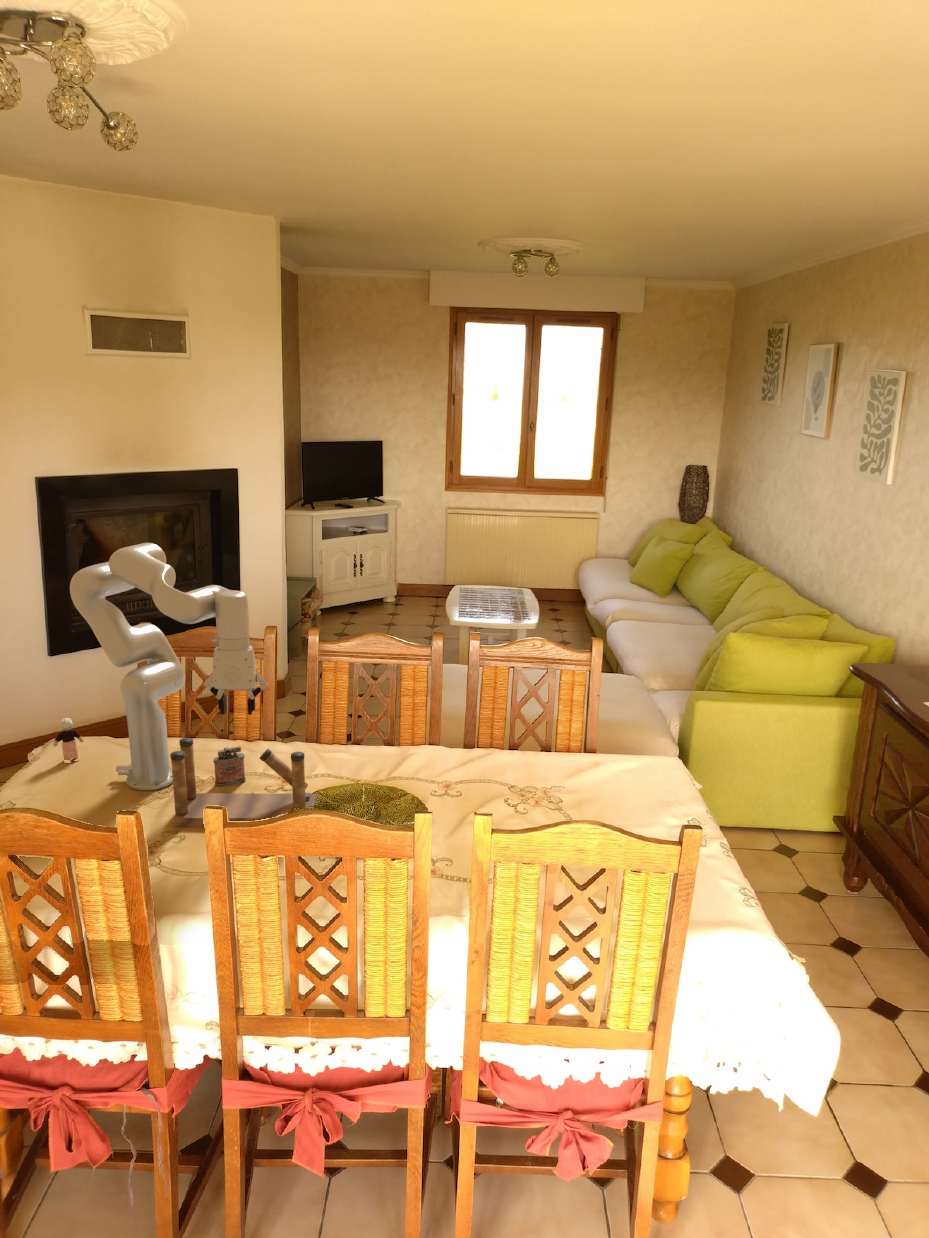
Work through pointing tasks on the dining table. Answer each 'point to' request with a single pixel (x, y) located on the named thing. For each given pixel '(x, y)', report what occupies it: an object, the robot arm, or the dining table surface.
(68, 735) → the grandmother figurine
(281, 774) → the folding leg
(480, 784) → the dining table surface
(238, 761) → the lighter
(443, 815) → the dining table surface
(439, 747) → the dining table surface
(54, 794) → the dining table surface
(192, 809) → the stool
